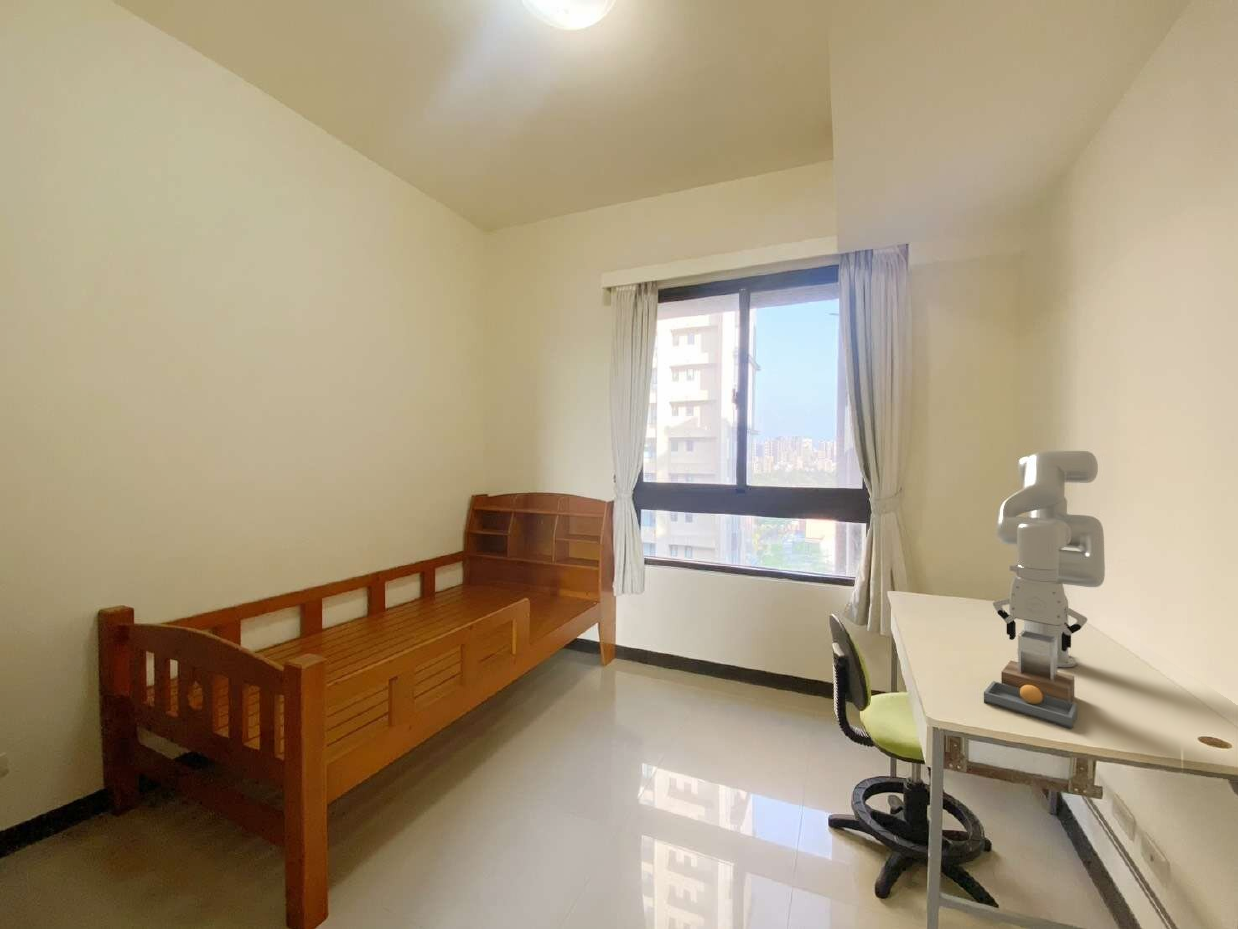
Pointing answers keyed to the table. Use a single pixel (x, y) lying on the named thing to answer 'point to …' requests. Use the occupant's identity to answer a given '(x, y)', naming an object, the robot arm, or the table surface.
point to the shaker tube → (1037, 652)
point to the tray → (1031, 705)
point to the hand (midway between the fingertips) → (1037, 643)
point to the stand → (1039, 681)
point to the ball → (1031, 694)
